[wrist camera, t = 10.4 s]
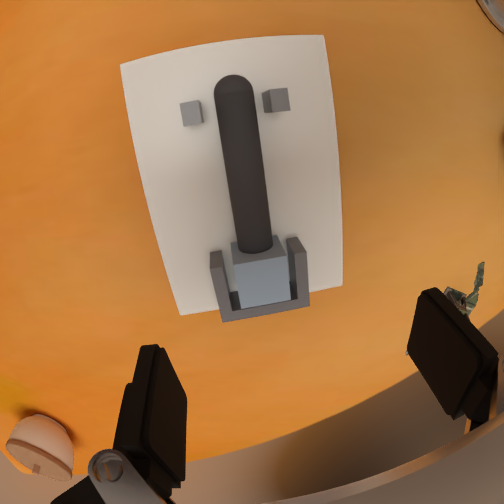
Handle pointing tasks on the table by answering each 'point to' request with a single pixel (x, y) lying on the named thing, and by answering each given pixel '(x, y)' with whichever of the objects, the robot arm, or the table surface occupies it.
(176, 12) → the table surface
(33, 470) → the lidded bowl
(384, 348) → the table surface
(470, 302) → the eiffel tower figurine
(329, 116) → the cable board
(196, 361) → the table surface
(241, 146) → the cable
